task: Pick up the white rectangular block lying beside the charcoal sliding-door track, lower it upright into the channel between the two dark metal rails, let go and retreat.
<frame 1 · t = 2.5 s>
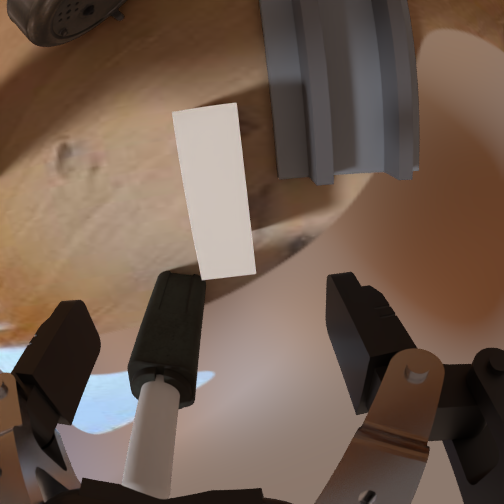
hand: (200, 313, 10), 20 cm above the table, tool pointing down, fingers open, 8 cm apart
door track: (343, 45, 22), on the table
alarm clock: (112, 6, 19), on the table
white rectangular block: (220, 172, 27), on the table
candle: (181, 292, 33), on the table
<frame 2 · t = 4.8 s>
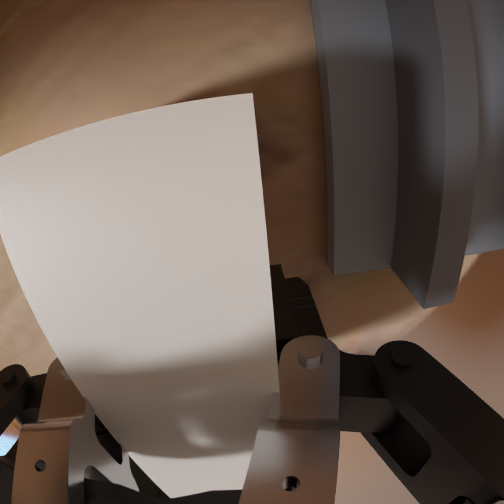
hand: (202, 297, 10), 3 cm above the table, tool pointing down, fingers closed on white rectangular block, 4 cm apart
door track: (455, 3, 8), on the table
white rectangular block: (208, 258, 13), on the table, touching gripper
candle: (155, 420, 18), on the table
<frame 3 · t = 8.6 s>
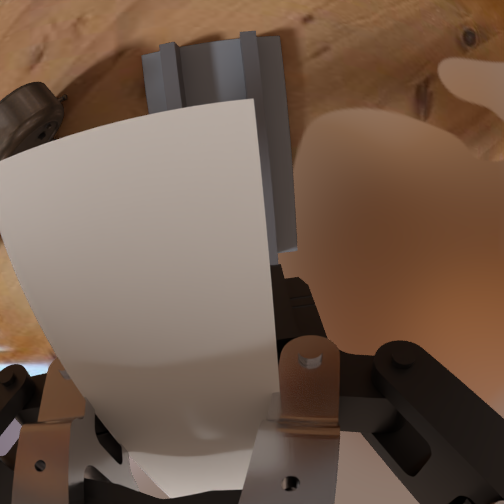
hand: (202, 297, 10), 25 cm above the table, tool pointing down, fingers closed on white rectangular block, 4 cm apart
door track: (223, 152, 32), on the table
alarm clock: (50, 128, 29), on the table
white rectangular block: (209, 259, 13), point 22 cm above the table, touching gripper
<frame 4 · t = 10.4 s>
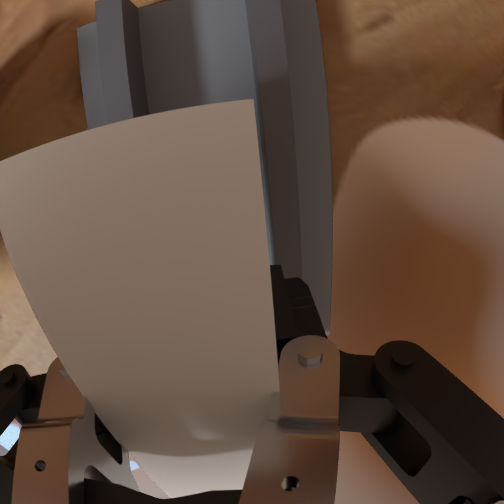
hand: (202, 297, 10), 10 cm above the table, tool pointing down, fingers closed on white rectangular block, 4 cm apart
door track: (214, 188, 19), on the table
white rectangular block: (209, 259, 13), point 7 cm above the table, touching gripper
when the fingers open (5 cm above the table, at t = 12.3 s): white rectangular block stays where it is, resting on door track.
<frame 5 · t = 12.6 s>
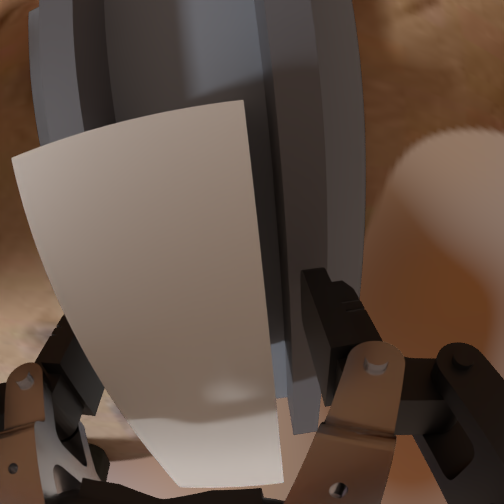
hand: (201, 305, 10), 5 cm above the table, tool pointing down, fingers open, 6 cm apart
door track: (207, 219, 14), on the table
white rectangular block: (209, 250, 14), point 1 cm above the table, touching door track
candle: (85, 450, 25), on the table
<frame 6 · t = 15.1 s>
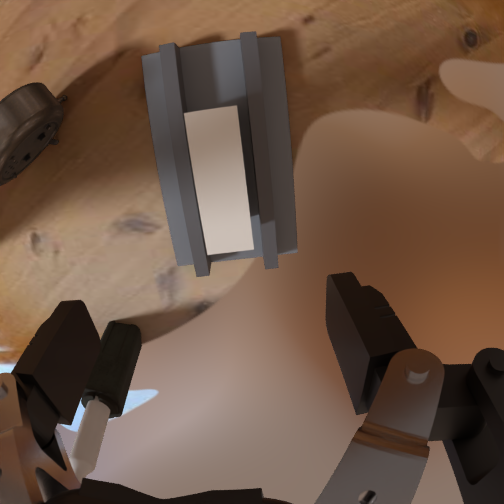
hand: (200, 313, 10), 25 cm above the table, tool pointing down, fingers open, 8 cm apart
door track: (223, 153, 32), on the table
alarm clock: (50, 129, 29), on the table
white rectangular block: (224, 165, 32), point 1 cm above the table, touching door track
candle: (125, 335, 42), on the table
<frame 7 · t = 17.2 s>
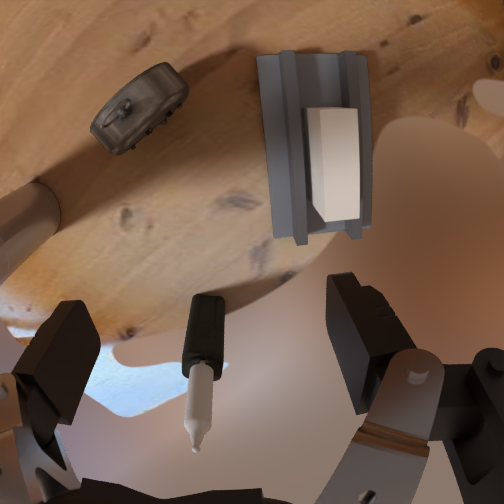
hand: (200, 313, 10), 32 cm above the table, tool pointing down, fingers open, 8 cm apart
door track: (319, 144, 38), on the table
alarm clock: (156, 109, 35), on the table
white rectangular block: (321, 153, 38), point 1 cm above the table, touching door track
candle: (207, 307, 49), on the table
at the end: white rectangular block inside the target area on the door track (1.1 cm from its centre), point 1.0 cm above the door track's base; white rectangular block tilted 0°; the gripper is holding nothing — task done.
